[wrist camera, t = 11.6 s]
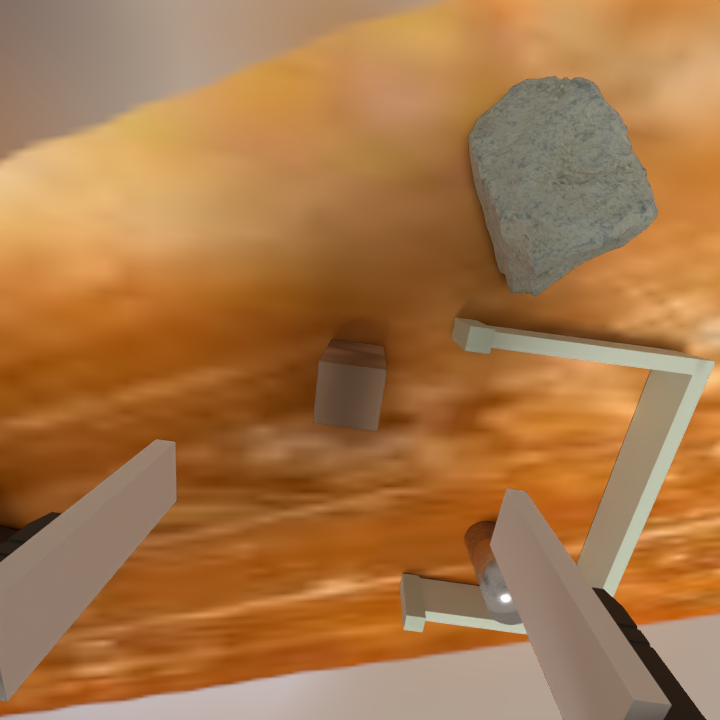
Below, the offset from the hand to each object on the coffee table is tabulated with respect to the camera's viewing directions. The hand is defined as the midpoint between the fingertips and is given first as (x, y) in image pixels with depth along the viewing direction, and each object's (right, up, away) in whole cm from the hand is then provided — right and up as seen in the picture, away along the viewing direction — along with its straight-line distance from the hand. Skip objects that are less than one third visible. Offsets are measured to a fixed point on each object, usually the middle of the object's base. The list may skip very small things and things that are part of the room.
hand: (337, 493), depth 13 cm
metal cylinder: (+13, -13, +20) cm, 27 cm away
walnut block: (0, +5, +16) cm, 17 cm away
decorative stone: (+13, +18, +12) cm, 25 cm away
